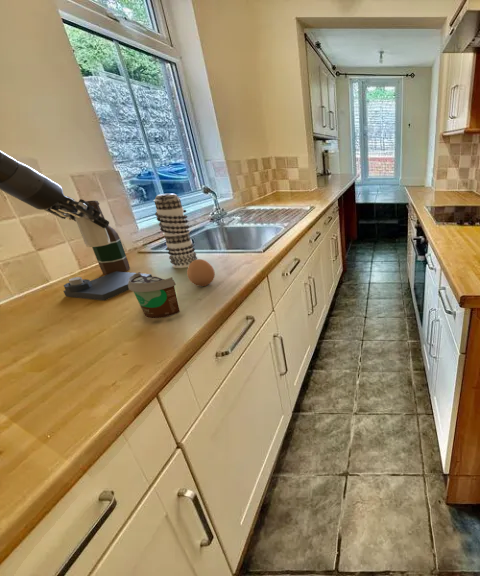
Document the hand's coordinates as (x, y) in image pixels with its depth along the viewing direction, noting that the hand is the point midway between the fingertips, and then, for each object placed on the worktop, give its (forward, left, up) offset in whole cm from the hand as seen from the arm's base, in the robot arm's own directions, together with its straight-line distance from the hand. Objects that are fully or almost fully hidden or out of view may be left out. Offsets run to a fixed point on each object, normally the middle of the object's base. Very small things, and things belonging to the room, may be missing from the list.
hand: (98, 224), depth 89 cm
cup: (0, -2, -5) cm, 5 cm away
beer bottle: (-16, +12, -20) cm, 28 cm away
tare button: (-8, -5, -17) cm, 19 cm away
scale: (-4, 0, -20) cm, 20 cm away
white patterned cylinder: (+2, +23, -20) cm, 31 cm away
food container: (+24, -12, -20) cm, 34 cm away
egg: (+23, +7, -20) cm, 31 cm away
